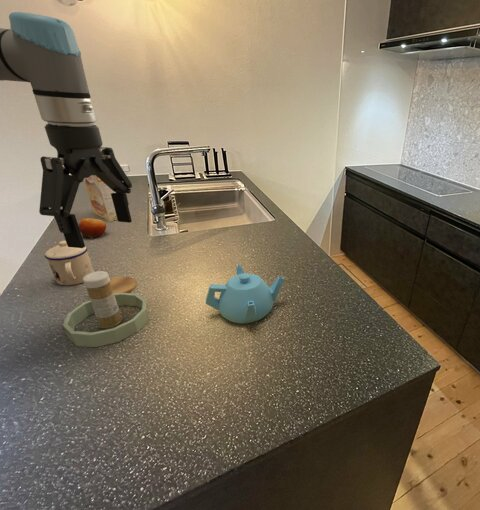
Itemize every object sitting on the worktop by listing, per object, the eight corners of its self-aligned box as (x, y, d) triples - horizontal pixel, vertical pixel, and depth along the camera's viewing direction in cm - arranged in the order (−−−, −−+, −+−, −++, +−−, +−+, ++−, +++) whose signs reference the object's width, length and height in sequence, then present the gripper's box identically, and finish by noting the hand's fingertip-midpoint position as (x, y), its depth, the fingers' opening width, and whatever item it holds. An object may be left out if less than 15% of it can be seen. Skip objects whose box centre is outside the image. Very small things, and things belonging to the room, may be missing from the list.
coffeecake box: (93, 213, 133) (79, 167, 124) (111, 209, 138) (99, 165, 129) (108, 222, 126) (95, 174, 117) (127, 218, 131) (116, 172, 122)
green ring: (50, 343, 67) (44, 330, 65) (103, 301, 80) (99, 290, 79) (120, 349, 66) (116, 337, 65) (161, 306, 80) (159, 295, 79)
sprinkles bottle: (108, 316, 75) (92, 269, 69) (126, 317, 75) (112, 271, 69) (94, 329, 71) (76, 280, 65) (114, 330, 71) (98, 281, 65)
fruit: (69, 236, 109) (74, 214, 109) (89, 239, 116) (94, 219, 117) (89, 239, 108) (94, 217, 108) (108, 242, 116) (113, 221, 116)
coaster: (84, 296, 82) (83, 294, 81) (111, 277, 90) (110, 275, 90) (120, 300, 81) (120, 297, 81) (144, 280, 90) (143, 278, 90)
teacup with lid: (56, 274, 90) (42, 238, 84) (95, 267, 95) (84, 233, 89) (53, 295, 81) (37, 256, 76) (96, 286, 86) (83, 249, 81)
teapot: (241, 288, 91) (239, 256, 86) (286, 301, 86) (285, 268, 81) (204, 317, 78) (198, 281, 73) (253, 335, 73) (251, 298, 69)
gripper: (24, 131, 43) (71, 262, 53) (137, 121, 65) (155, 214, 75) (-28, 126, 43) (28, 258, 53) (102, 118, 65) (125, 211, 75)
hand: (103, 233), depth 64 cm, fingers open, 13 cm apart
